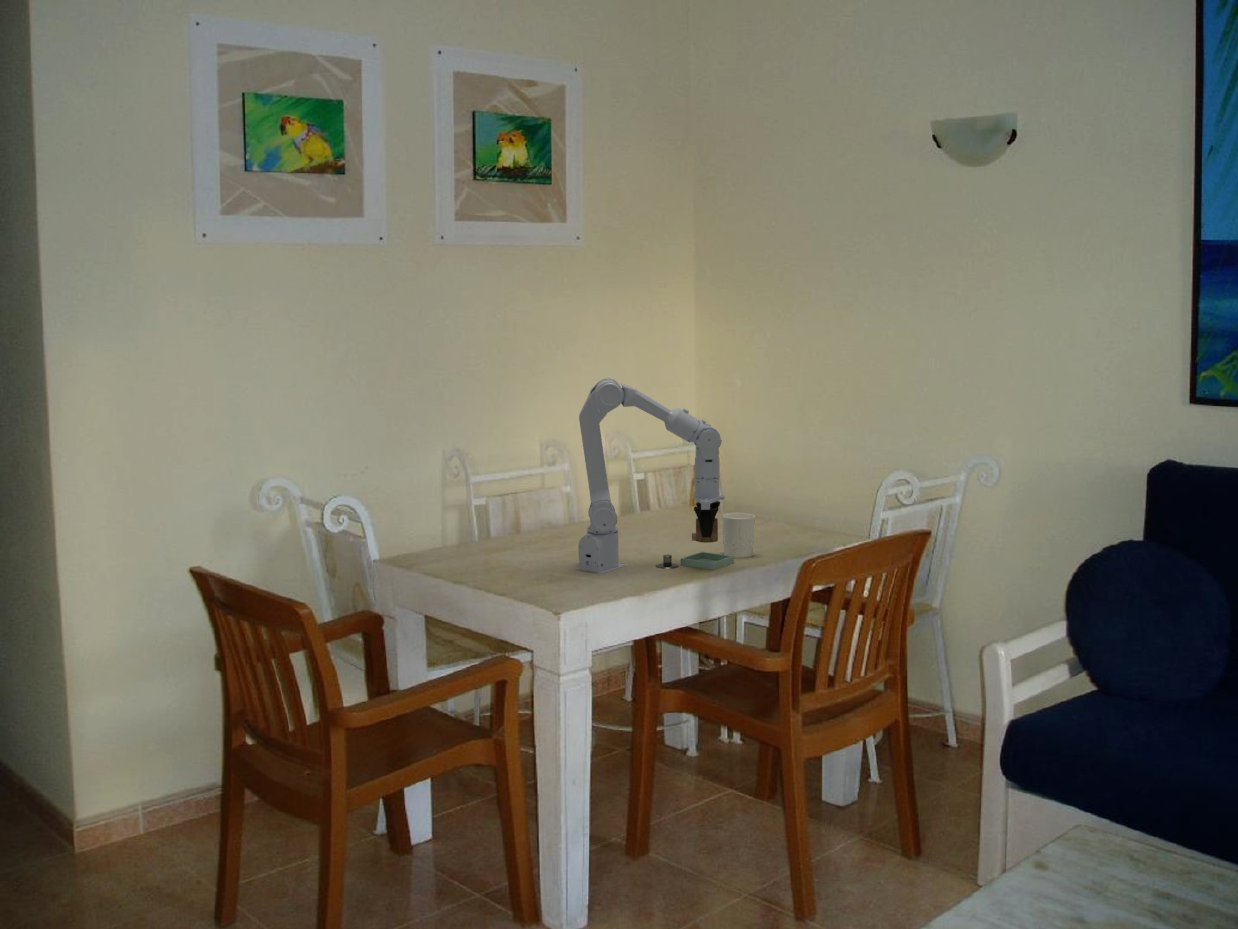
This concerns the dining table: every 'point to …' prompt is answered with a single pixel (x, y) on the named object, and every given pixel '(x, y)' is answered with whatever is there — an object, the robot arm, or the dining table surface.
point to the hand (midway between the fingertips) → (707, 534)
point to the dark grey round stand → (667, 563)
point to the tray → (707, 560)
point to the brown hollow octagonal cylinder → (699, 538)
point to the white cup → (738, 534)
